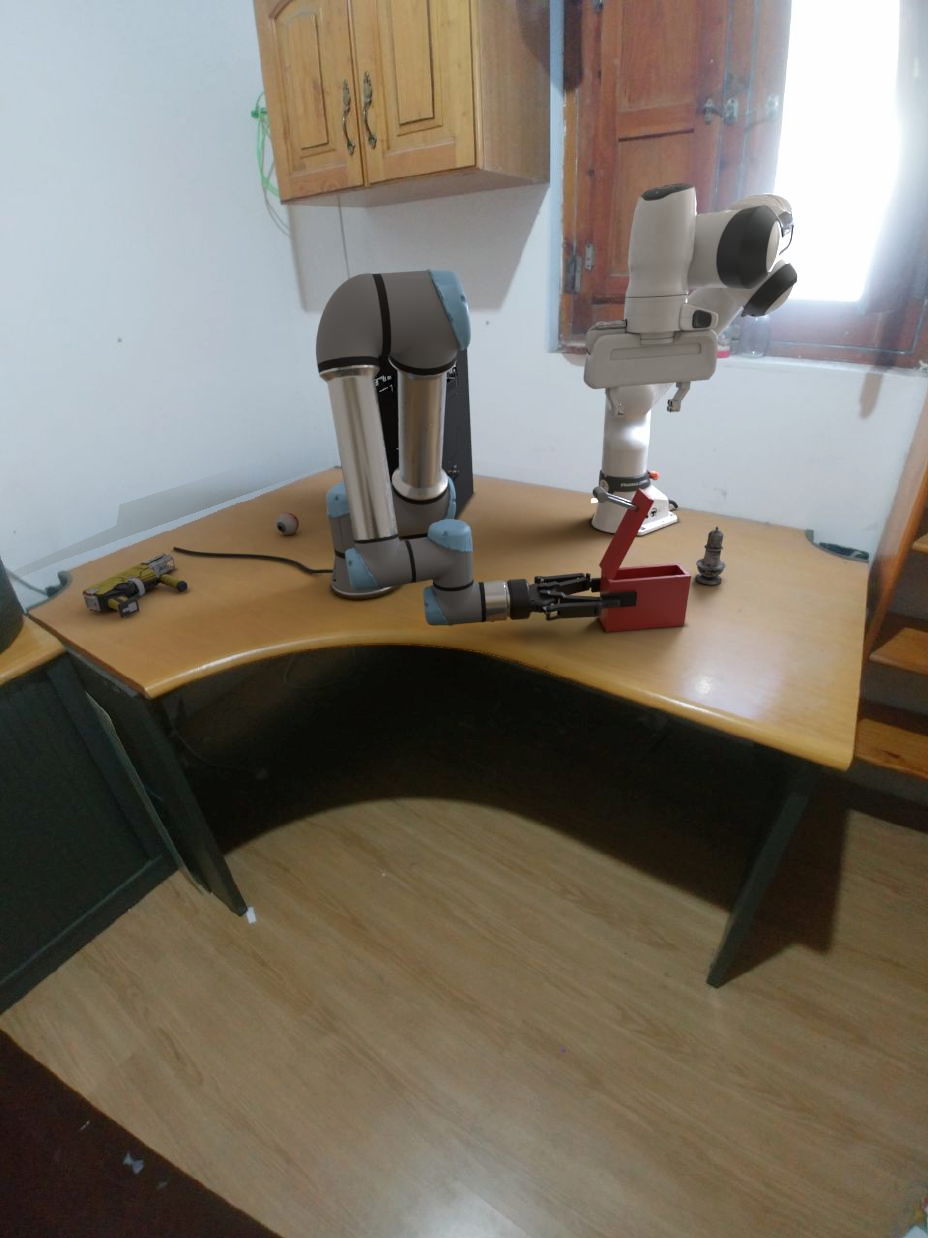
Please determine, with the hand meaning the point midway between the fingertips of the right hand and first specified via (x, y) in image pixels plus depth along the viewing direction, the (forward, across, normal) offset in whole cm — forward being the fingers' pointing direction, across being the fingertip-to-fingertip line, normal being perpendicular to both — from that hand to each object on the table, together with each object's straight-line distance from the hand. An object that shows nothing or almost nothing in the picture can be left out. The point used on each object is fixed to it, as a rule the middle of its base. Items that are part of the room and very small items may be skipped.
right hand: (645, 413), depth 96 cm
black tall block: (+39, -32, +72) cm, 88 cm away
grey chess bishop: (+39, +24, +13) cm, 47 cm away
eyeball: (+39, -70, +66) cm, 104 cm away
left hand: (+32, 0, 0) cm, 32 cm away
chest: (+39, +3, 0) cm, 39 cm away
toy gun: (+39, -98, +37) cm, 112 cm away
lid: (+21, -1, 0) cm, 21 cm away
